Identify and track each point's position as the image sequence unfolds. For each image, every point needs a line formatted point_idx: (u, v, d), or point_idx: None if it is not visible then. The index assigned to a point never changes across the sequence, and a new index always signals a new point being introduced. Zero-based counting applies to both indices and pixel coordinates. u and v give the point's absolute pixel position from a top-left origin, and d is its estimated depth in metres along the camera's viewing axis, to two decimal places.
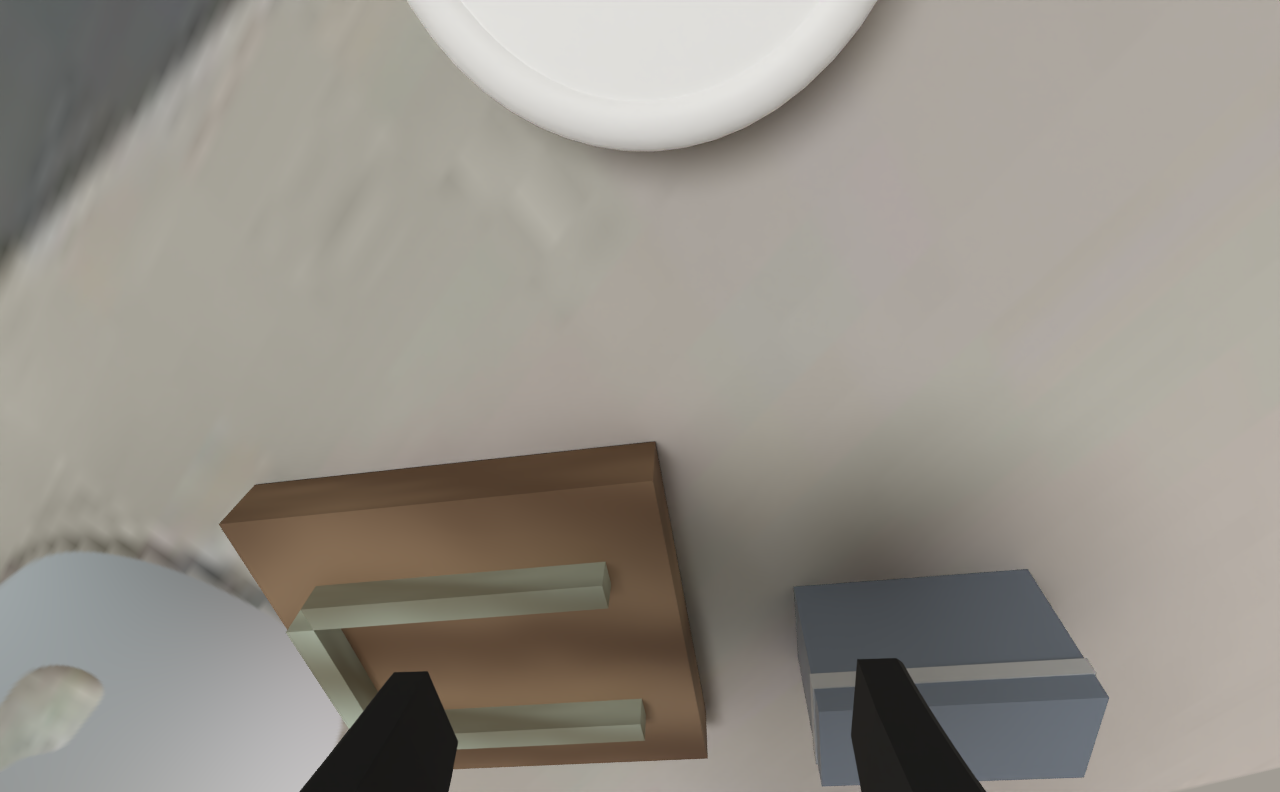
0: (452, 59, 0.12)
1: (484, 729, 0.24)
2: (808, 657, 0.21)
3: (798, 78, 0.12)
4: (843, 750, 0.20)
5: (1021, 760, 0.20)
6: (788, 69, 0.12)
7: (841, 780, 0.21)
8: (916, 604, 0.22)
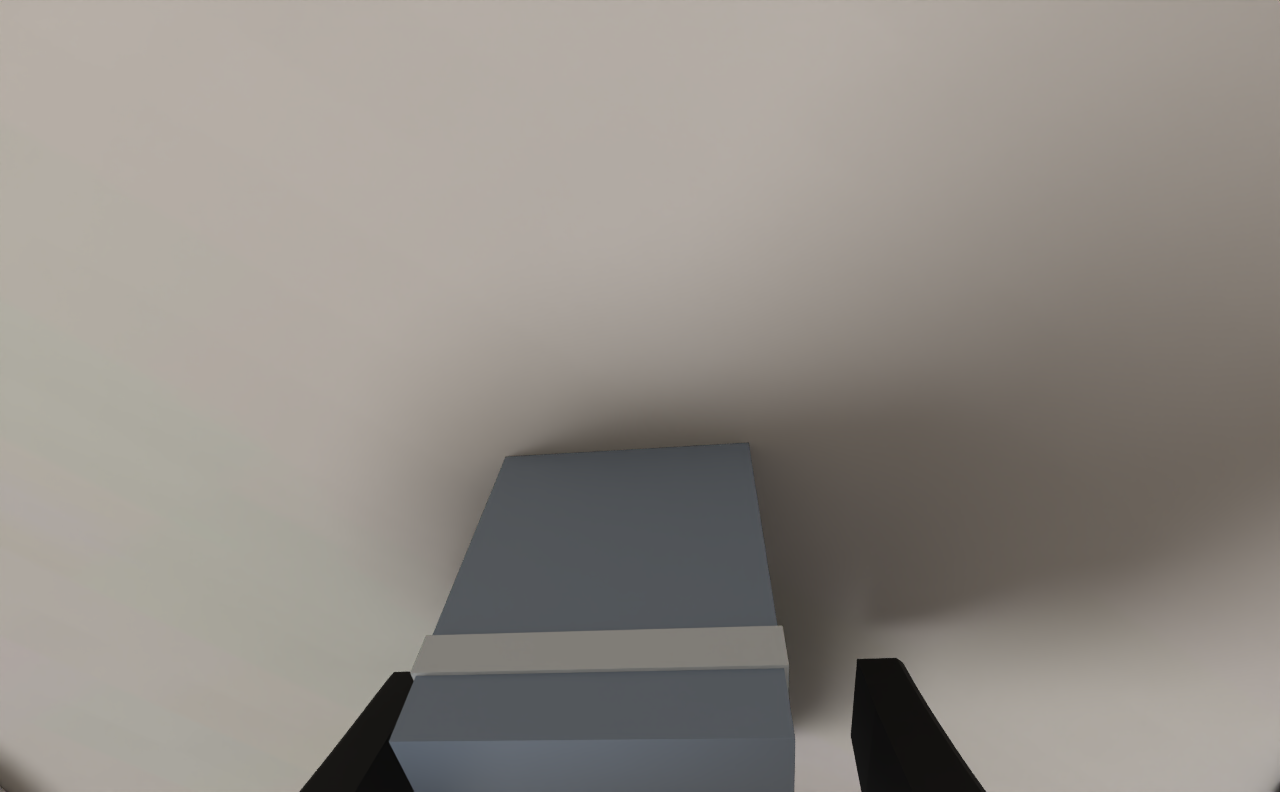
0: None
1: None
2: None
3: None
4: None
5: None
6: None
7: None
8: None
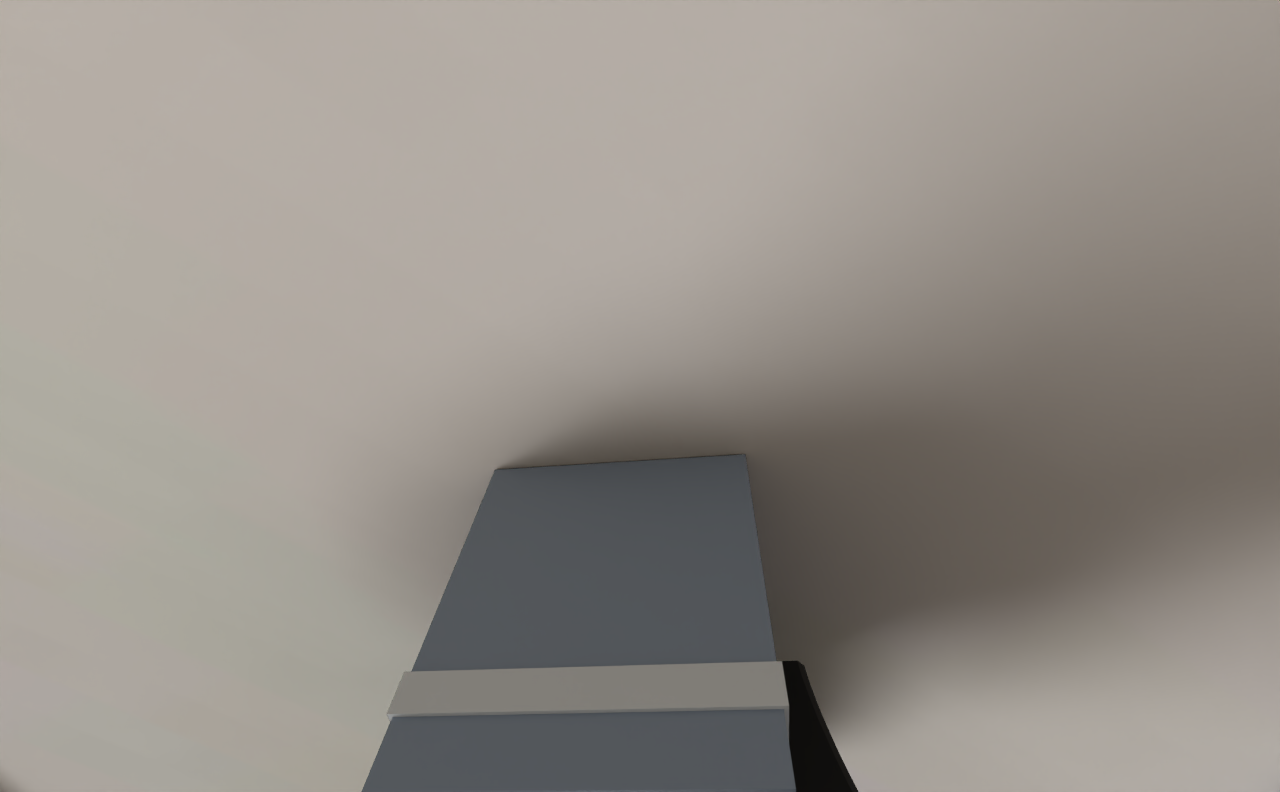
0: None
1: None
2: None
3: None
4: None
5: None
6: None
7: None
8: None
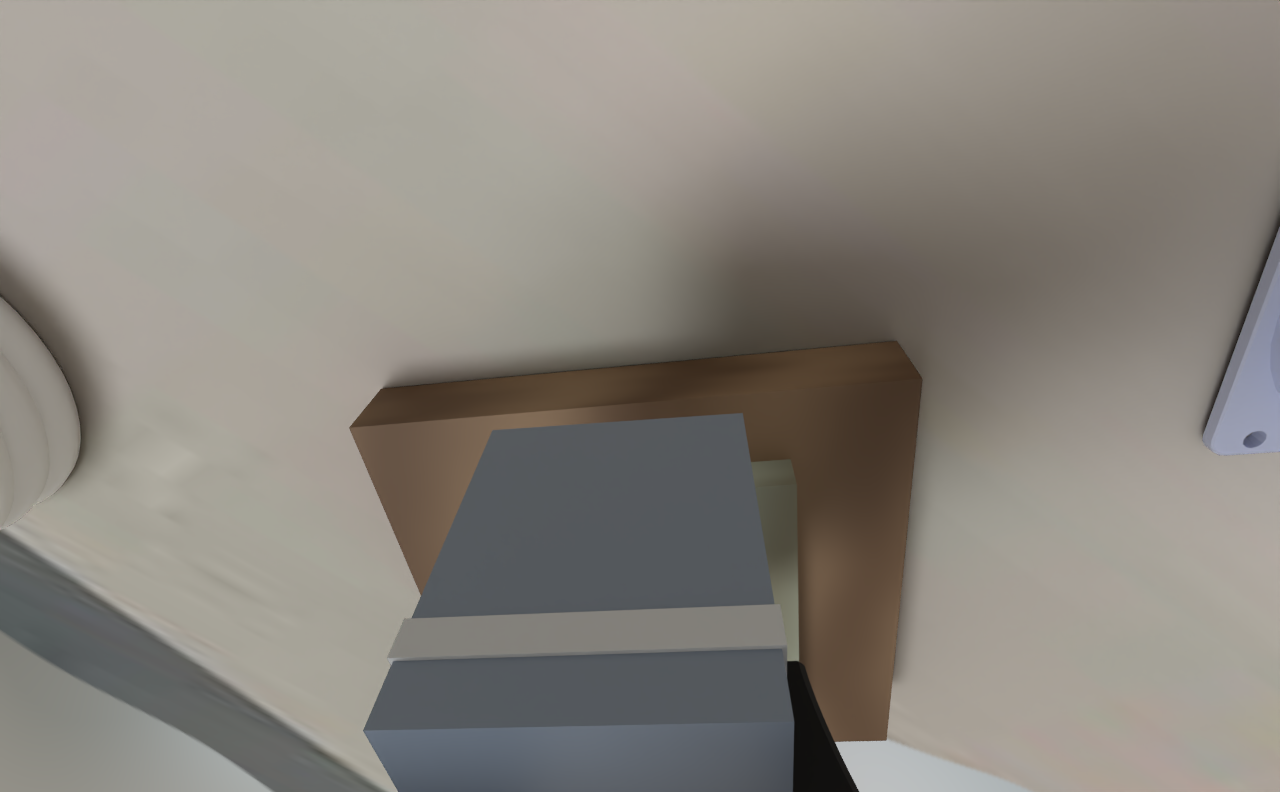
0: None
1: None
2: None
3: None
4: None
5: None
6: None
7: None
8: None
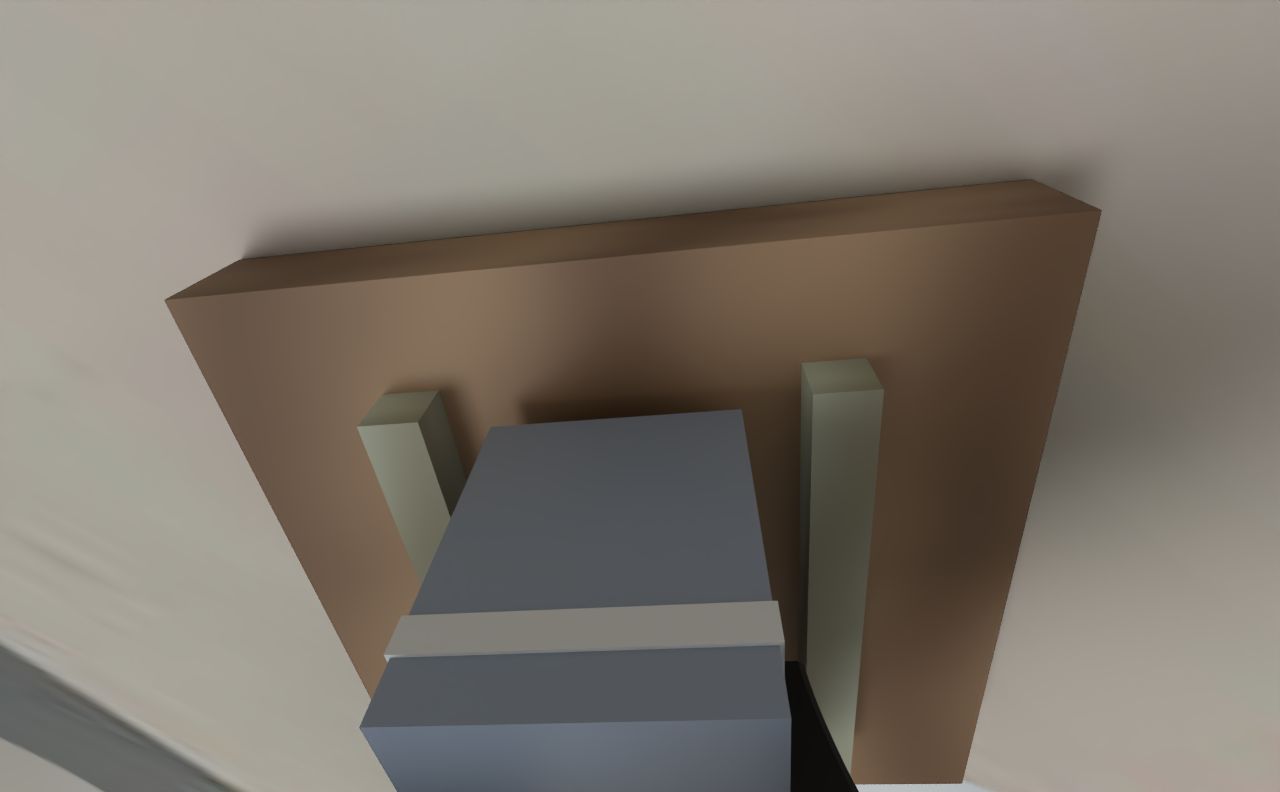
0: None
1: (807, 654, 0.12)
2: None
3: None
4: None
5: None
6: None
7: None
8: None
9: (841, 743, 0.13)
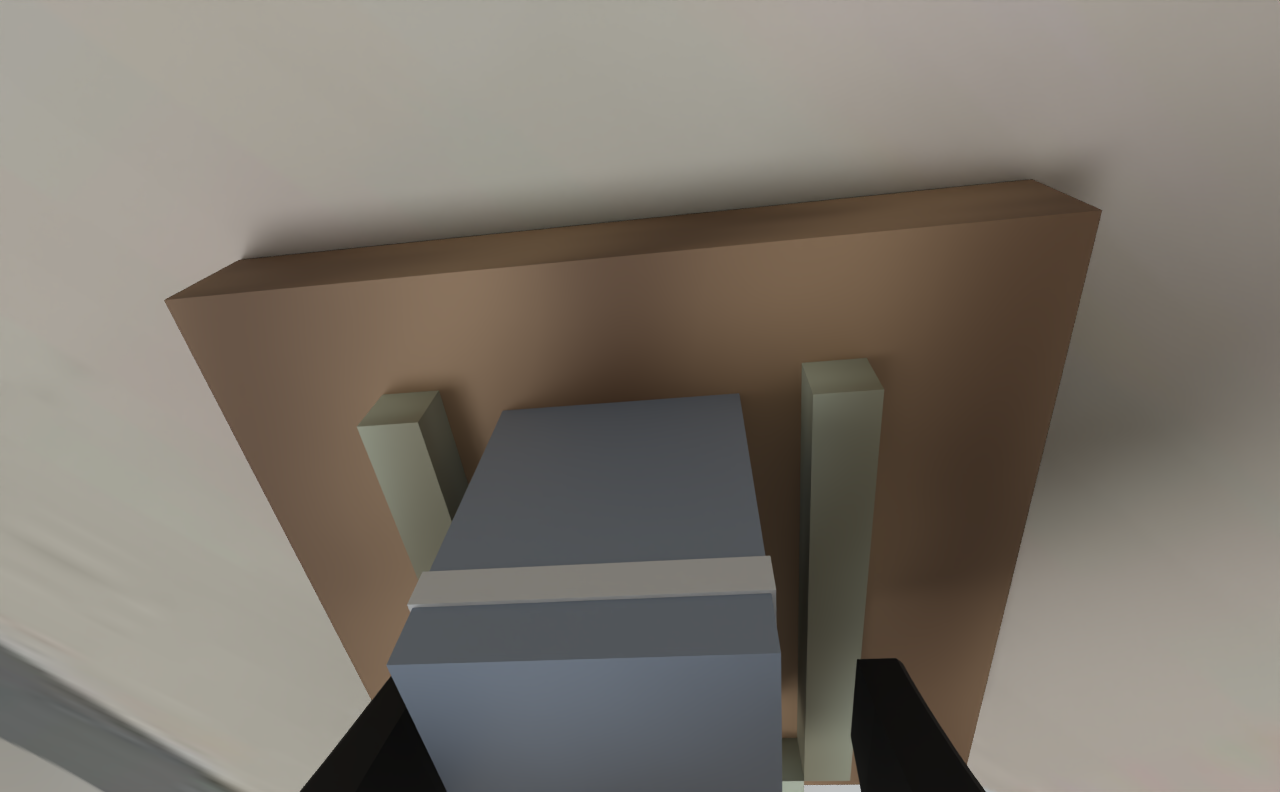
0: None
1: (807, 654, 0.12)
2: None
3: None
4: None
5: (687, 770, 0.07)
6: None
7: None
8: None
9: (841, 743, 0.13)
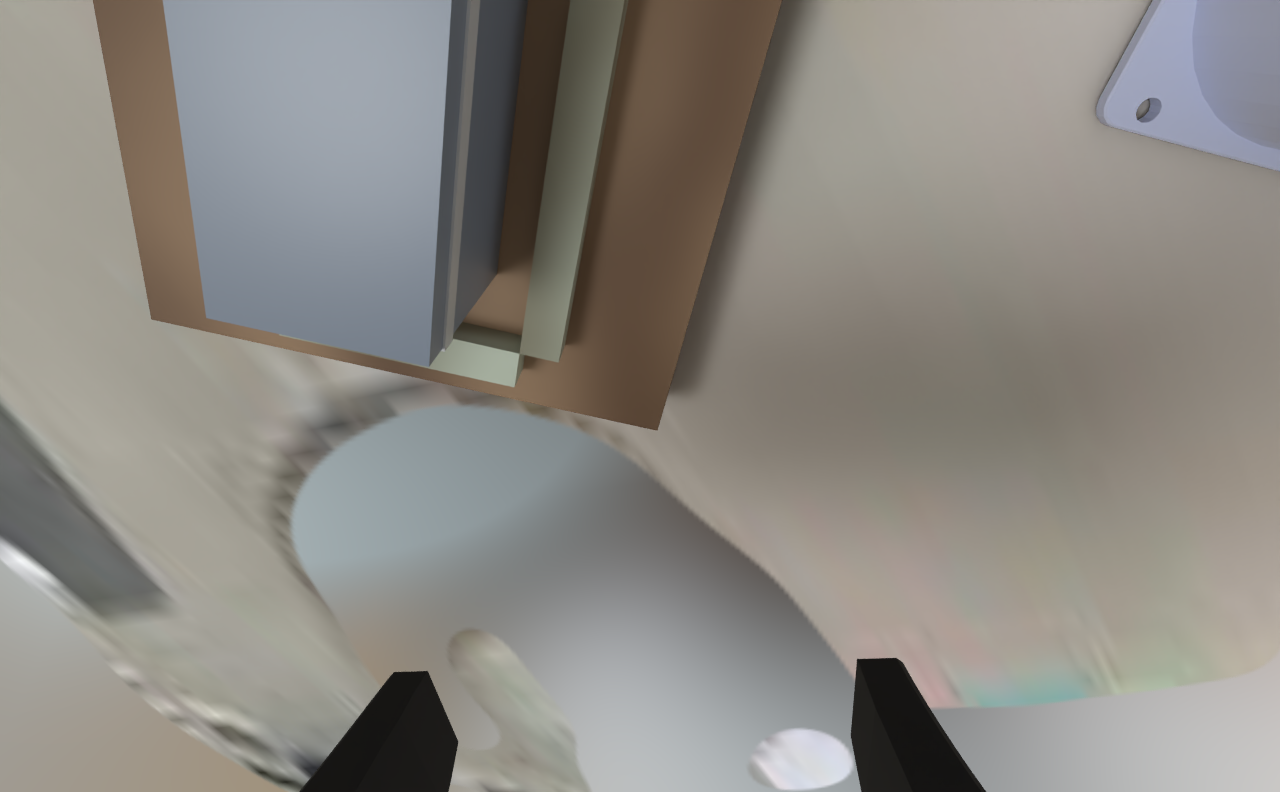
0: None
1: (545, 188, 0.14)
2: None
3: None
4: (318, 307, 0.11)
5: None
6: None
7: (413, 333, 0.11)
8: None
9: (557, 309, 0.15)
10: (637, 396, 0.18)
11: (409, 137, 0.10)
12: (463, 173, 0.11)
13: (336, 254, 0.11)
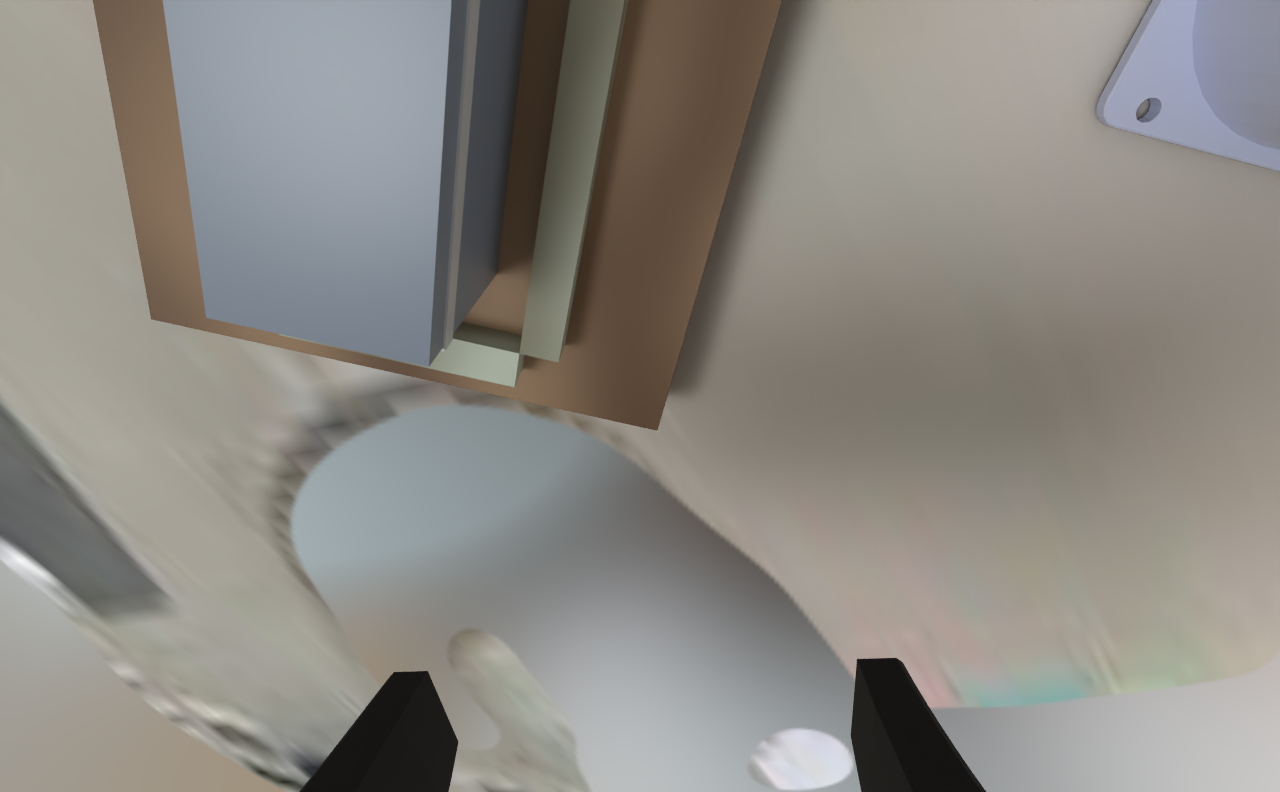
0: None
1: (545, 188, 0.14)
2: None
3: None
4: (318, 307, 0.11)
5: None
6: None
7: (413, 333, 0.11)
8: None
9: (557, 309, 0.15)
10: (637, 396, 0.18)
11: (409, 137, 0.10)
12: (463, 173, 0.11)
13: (336, 254, 0.11)
